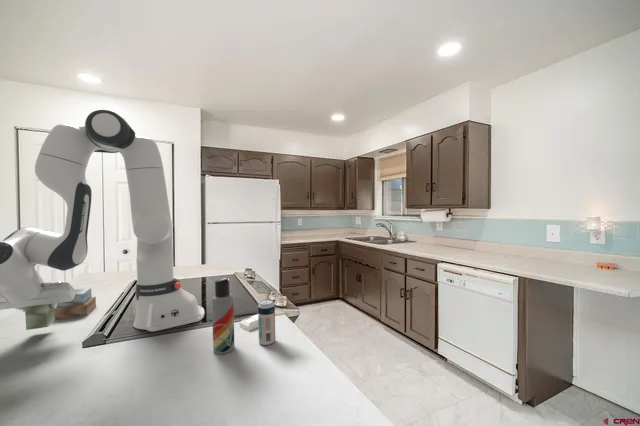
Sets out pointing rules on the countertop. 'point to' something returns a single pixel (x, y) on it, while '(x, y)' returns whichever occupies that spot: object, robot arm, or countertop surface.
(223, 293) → the lotion bottle
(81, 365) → the countertop surface
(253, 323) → the soap bar
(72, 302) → the pedestal
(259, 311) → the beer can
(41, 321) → the green brick
